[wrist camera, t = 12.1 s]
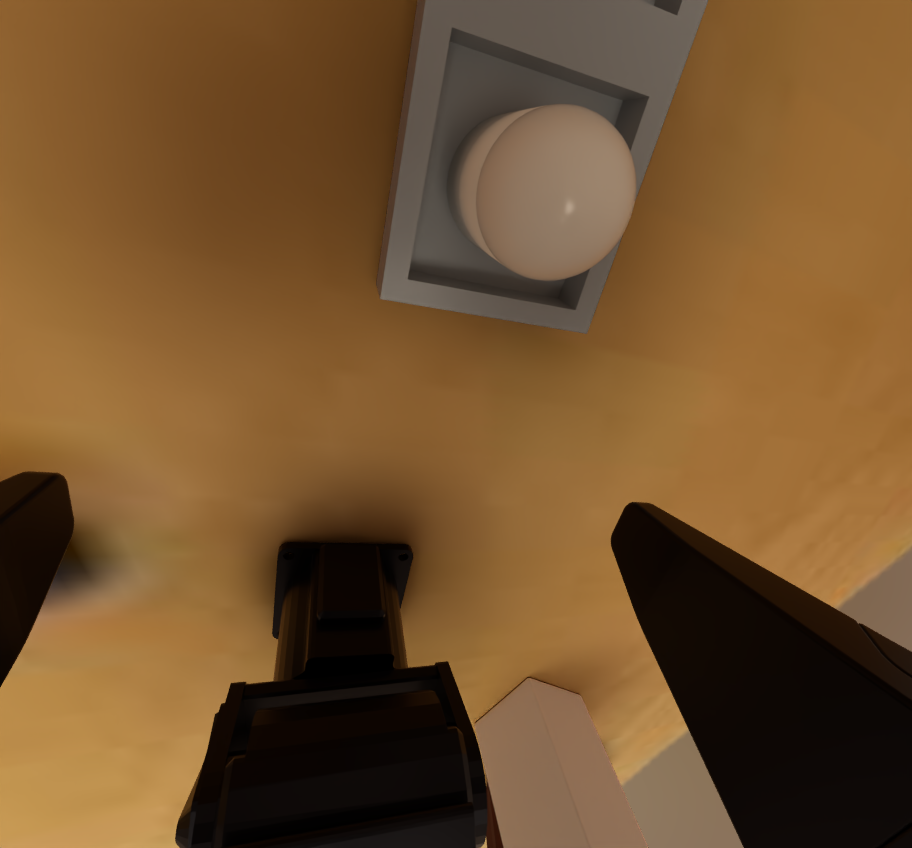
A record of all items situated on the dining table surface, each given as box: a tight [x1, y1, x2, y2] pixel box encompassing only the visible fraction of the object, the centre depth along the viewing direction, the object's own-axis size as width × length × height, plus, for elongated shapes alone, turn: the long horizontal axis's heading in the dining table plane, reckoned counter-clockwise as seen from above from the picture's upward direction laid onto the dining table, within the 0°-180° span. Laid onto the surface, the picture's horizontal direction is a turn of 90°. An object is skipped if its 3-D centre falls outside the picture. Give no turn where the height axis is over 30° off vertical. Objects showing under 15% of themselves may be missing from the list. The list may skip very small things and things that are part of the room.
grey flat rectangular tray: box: [376, 0, 708, 334], centre depth 14 cm, size 17×8×2 cm, turn 167°
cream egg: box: [447, 104, 636, 281], centre depth 14 cm, size 4×4×6 cm
